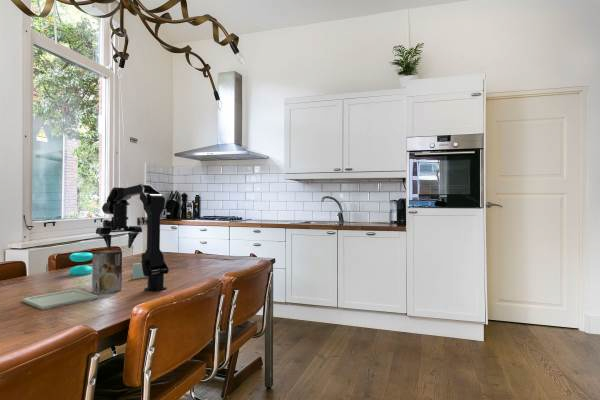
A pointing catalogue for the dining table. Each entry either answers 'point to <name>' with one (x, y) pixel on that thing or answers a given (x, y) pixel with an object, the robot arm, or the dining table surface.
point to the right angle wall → (138, 271)
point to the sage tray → (59, 299)
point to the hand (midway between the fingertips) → (119, 248)
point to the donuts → (79, 258)
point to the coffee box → (106, 271)
